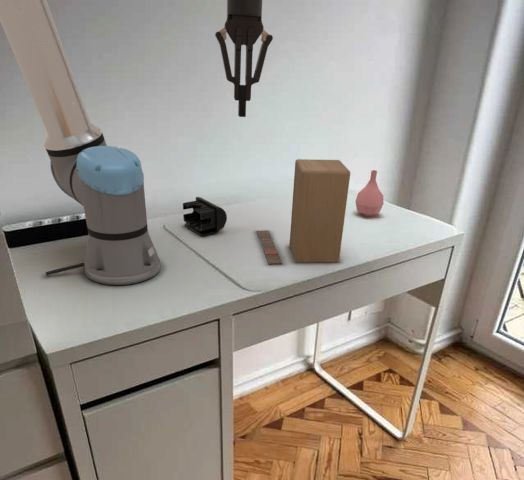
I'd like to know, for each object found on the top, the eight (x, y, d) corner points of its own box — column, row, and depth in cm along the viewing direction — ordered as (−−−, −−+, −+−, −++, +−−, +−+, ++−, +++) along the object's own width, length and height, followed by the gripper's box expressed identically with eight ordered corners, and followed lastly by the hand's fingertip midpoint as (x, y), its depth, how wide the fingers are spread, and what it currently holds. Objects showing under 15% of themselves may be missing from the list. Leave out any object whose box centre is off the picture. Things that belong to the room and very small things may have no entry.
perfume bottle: (364, 220, 136) (371, 175, 130) (348, 212, 142) (354, 168, 135) (387, 217, 139) (394, 173, 133) (370, 209, 145) (376, 166, 138)
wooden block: (330, 245, 120) (340, 159, 109) (339, 263, 112) (351, 171, 101) (289, 246, 119) (295, 158, 108) (295, 263, 111) (302, 170, 100)
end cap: (227, 232, 125) (227, 205, 121) (202, 237, 122) (202, 210, 118) (206, 220, 132) (206, 195, 128) (182, 225, 128) (181, 199, 124)
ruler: (256, 232, 126) (256, 230, 126) (268, 232, 126) (268, 230, 126) (268, 264, 110) (268, 262, 109) (282, 264, 110) (282, 262, 110)
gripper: (272, -2, 110) (266, 115, 123) (213, -7, 108) (213, 113, 121) (277, -5, 104) (271, 119, 116) (215, -9, 102) (215, 117, 114)
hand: (241, 116), depth 118 cm, fingers closed
